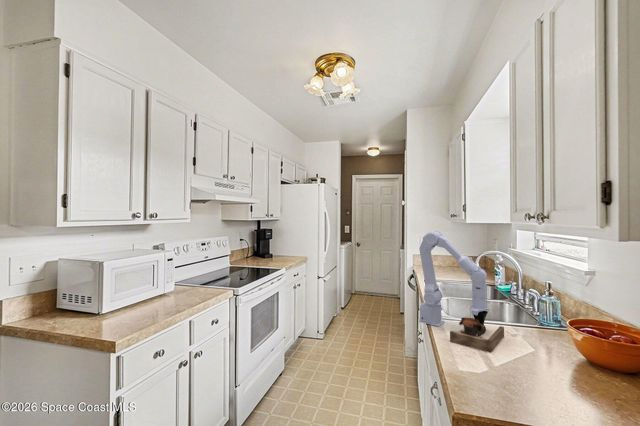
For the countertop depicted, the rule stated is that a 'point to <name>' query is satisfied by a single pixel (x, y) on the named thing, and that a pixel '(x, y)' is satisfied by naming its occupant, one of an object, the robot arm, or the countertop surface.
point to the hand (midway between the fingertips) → (480, 327)
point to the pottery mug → (472, 327)
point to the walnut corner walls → (478, 340)
